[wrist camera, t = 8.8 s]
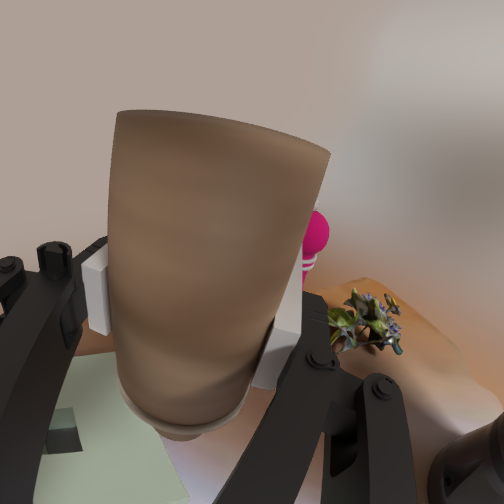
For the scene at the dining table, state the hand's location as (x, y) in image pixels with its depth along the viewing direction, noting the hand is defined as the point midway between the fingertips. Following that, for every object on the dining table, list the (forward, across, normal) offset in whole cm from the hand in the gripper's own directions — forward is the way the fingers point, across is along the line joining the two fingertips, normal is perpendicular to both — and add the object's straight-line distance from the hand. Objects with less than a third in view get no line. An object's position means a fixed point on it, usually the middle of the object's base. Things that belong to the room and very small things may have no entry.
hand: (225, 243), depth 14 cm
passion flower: (+20, +18, -21) cm, 34 cm away
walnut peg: (-5, 0, -7) cm, 9 cm away
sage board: (-7, -10, -21) cm, 25 cm away
